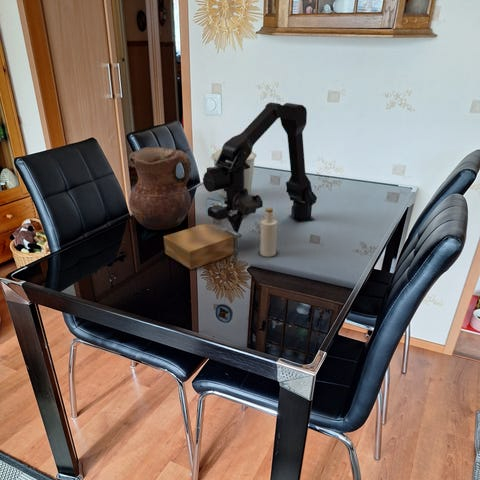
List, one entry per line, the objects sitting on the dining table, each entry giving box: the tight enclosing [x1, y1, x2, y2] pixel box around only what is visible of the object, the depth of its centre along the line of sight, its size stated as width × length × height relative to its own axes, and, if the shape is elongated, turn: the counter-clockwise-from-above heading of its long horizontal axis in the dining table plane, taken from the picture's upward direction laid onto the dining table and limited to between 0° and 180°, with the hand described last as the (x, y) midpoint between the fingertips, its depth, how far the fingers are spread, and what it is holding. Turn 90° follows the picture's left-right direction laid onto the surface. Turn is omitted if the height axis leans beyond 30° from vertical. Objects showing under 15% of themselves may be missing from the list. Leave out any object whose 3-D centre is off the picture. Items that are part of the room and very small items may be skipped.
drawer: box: [210, 224, 242, 251], centre depth 138 cm, size 20×13×4 cm
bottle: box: [259, 207, 278, 258], centre depth 133 cm, size 5×5×14 cm
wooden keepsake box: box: [163, 223, 235, 270], centre depth 135 cm, size 16×14×6 cm
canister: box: [211, 148, 257, 199], centre depth 177 cm, size 18×18×21 cm
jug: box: [128, 146, 192, 231], centre depth 151 cm, size 22×21×25 cm
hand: (236, 232), depth 143 cm, fingers closed
